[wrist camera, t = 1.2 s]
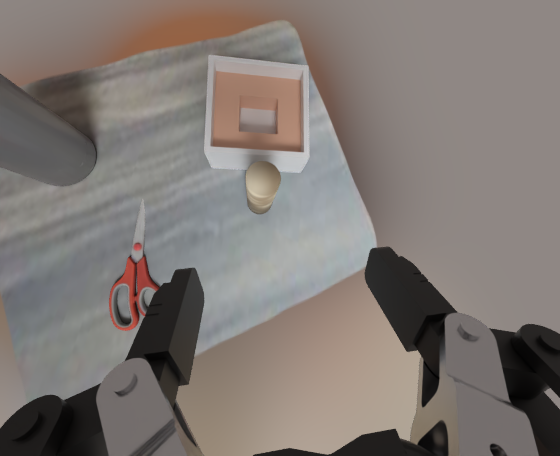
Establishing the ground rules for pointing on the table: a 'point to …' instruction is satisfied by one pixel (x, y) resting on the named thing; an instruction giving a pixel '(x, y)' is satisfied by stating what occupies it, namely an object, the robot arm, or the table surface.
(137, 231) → the scissors
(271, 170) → the peg
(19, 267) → the table surface
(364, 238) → the table surface
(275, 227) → the table surface
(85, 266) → the table surface
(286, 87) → the box
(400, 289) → the robot arm
